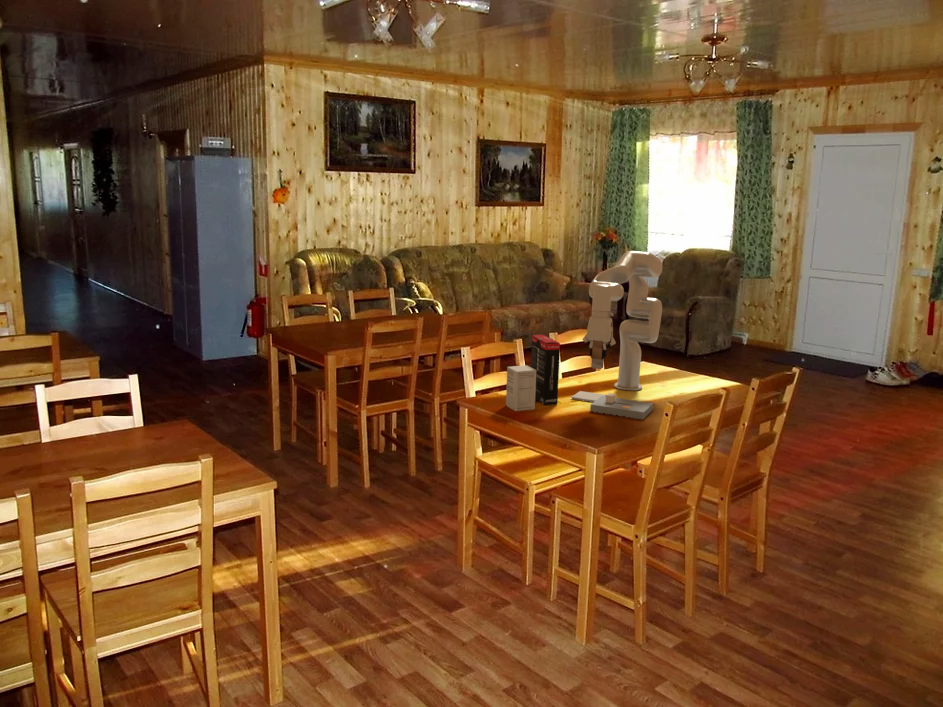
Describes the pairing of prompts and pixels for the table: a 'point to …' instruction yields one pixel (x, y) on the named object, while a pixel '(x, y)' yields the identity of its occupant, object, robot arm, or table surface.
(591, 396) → the mat
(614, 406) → the switch board
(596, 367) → the block
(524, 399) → the supplement box
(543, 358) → the graphics card box
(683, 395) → the table surface
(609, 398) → the switch tab
